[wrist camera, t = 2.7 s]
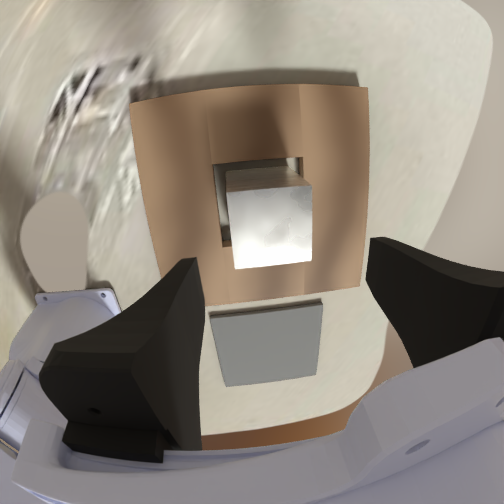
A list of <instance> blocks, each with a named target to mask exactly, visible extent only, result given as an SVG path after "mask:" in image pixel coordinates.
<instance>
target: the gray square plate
mask: <svg viewBox="0 0 504 504" xmlns="http://www.w3.org/2000/svg"><path fill="white" fill-rule="evenodd" d="M322 312H323V304H322V302H319V303H313V304H306V305H299V306H292V307H284V308H277V309H269V310H261V311H252V312H243V313H234V314H225V315H214V316H210V321H211V325H212V330H213V335H214V339H215V344H216V348H217V352H218V357H219V361H220V365H221V369H222V373H223V378H224V382H225V386H226V387H230V386H241V385H251V384H259V383H267V382H275V381H282V380H288V379H295V378H301V377H306V376H312V375H316V371H317V363H318V354H319V345H320V335H321V324H322Z"/></svg>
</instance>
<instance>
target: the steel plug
mask: <svg viewBox="0 0 504 504" xmlns="http://www.w3.org/2000/svg"><path fill="white" fill-rule="evenodd" d="M226 196H227V205H228V214H229V223H230V232H231V240H232V249H233V257H234V266H235V269H243V268H252V267H261V266H270V265H279V264H287V263H296V262H304V261H312V185H311V184H310V183H309V182H307V181H306V180H305V179H304V178H302V177H301V176H300V175H299V174H297V173H296V172H295V171H294V170H292V169H291V168H290V167H289V166H281V167H267V168H255V169H244V170H234V171H226Z"/></svg>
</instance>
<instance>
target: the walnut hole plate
mask: <svg viewBox="0 0 504 504" xmlns="http://www.w3.org/2000/svg"><path fill="white" fill-rule="evenodd" d="M129 108H130V117H131V125H132V133H133V140H134V147H135V154H136V160H137V167H138V173H139V178H140V184H141V189H142V195H143V200H144V205H145V210H146V215H147V219H148V224H149V229H150V233H151V238H152V242H153V246H154V250H155V255H156V259H157V263H158V267H159V270H160V274H161V278H163V277H164V276H165V275H166V274H167V273H168V272H169V271H170V270H171V269H172V268H173V267H174V266H175V264H176V263H177V262H178V261H180V260H181V259H183V258H192V257H197V262H198V267H199V272H200V277H201V283H202V288H203V293H204V298H205V306H212V305H222V304H232V303H241V302H250V301H259V300H267V299H275V298H283V297H290V296H298V295H305V294H312V293H319V292H326V291H333V290H339V289H346V288H352V287H358V286H360V280H361V273H362V264H363V256H364V246H365V235H366V223H367V209H368V191H369V156H370V135H369V101H368V88H367V87H356V86H343V85H323V84H270V85H250V86H237V87H226V88H216V89H208V90H200V91H193V92H186V93H180V94H174V95H168V96H163V97H158V98H153V99H148V100H143V101H139V102H134V103H130V104H129ZM290 157H299V175H300V176H301V177H302V178H304V179H305V180H306V181H307V182H309V183H310V184H311V185H312V261H304V262H296V263H287V264H279V265H270V266H261V267H252V268H243V269H235V266H234V257H233V249H232V240H224V241H222V233H221V225H220V217H219V210H218V201H217V193H216V185H215V176H214V167H213V164H220V163H229V162H239V161H250V160H261V159H275V158H290Z"/></svg>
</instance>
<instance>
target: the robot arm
mask: <svg viewBox="0 0 504 504" xmlns="http://www.w3.org/2000/svg"><path fill="white" fill-rule="evenodd" d="M366 282H367V284H368V286H369V288H370V290H371V292H372V294H373V296H374V298H375V300H376V301H377V303H378V304H379V306H380V307H381V309H382V310H383V312H384V313H385V315H386V316H387V318H388V319H389V321H390V322H391V324H392V325H393V327H394V328H395V330H396V331H397V333H398V335H399V337H400V338H401V340H402V342H403V344H404V346H405V349H406V351H407V353H408V355H409V357H410V360H411V363H412V365H413V369H411V370H408V371H406V372H404V373H401V374H399V375H397V376H395V377H393V378H390V379H389V380H386V381H384V382H383V383H382V384H380V385H379V386H378V387H376V388H375V389H374V390H372V391H371V392H369V393H368V394H367V395H365V396H364V397H363V399H362V400H361V401H360V403H359V404H358V405H357V407H356V408H355V409H354V411H353V412H352V414H351V415H350V417H349V420H348V423H347V425H346V428H345V429H344V430H342V431H339V432H336V433H334V434H331V435H327V436H323V437H318V438H313V439H308V440H303V441H297V442H291V443H285V444H278V445H271V446H263V447H253V448H243V449H231V450H211V451H209V450H208V451H202V442H201V428H200V409H199V364H200V356H201V348H202V340H203V332H204V324H205V298H204V293H203V288H202V283H201V277H200V272H199V267H198V262H197V257H192V258H183V259H181V260H180V261H178V262H177V263H176V264H175V266H174V267H173V268H172V269H171V270H170V271H169V272H168V273H167V274H166V275H165V276H164V277H163V278H162V279H161V280H160V281H159V282H158V283H157V284H156V285H155V286H154V287H152V288H151V289H150V290H149V291H148V292H147V293H146V294H145V295H144V296H143V297H141V298H140V299H139V300H138V301H136V302H135V303H134V304H132V305H131V306H130V307H128V308H127V309H125V310H124V311H122V312H121V309H120V307H119V304H118V302H117V299H116V296H115V294H114V291H113V290H112V289H110V288H101V289H88V290H75V291H62V292H48V293H37V294H36V295H35V300H36V302H37V304H38V305H37V306H36V307H35V309H34V310H33V312H32V313H31V314H30V316H29V317H28V319H27V320H26V321H25V323H24V324H23V326H22V327H21V329H20V330H19V332H18V333H17V335H16V336H15V338H14V339H13V341H12V343H11V346H10V352H9V361H8V362H7V363H6V365H5V366H4V367H3V369H2V370H1V372H0V438H1V439H3V440H4V441H5V442H6V443H8V444H9V445H11V446H12V447H14V448H15V449H16V450H18V451H19V453H17V452H15V451H14V450H12V449H11V448H9V447H8V446H6V445H5V444H4V443H2V442H1V441H0V504H504V272H501V271H491V270H486V269H481V268H476V267H471V266H467V265H462V264H459V263H456V262H452V261H449V260H446V259H443V258H440V257H437V256H434V255H432V254H429V253H427V252H424V251H422V250H419V249H417V248H414V247H412V246H409V245H407V244H404V243H402V242H399V241H396V240H393V239H390V238H386V237H376V238H370V247H369V256H368V264H367V272H366ZM102 293H104V294H105V295H103V294H102Z"/></svg>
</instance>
